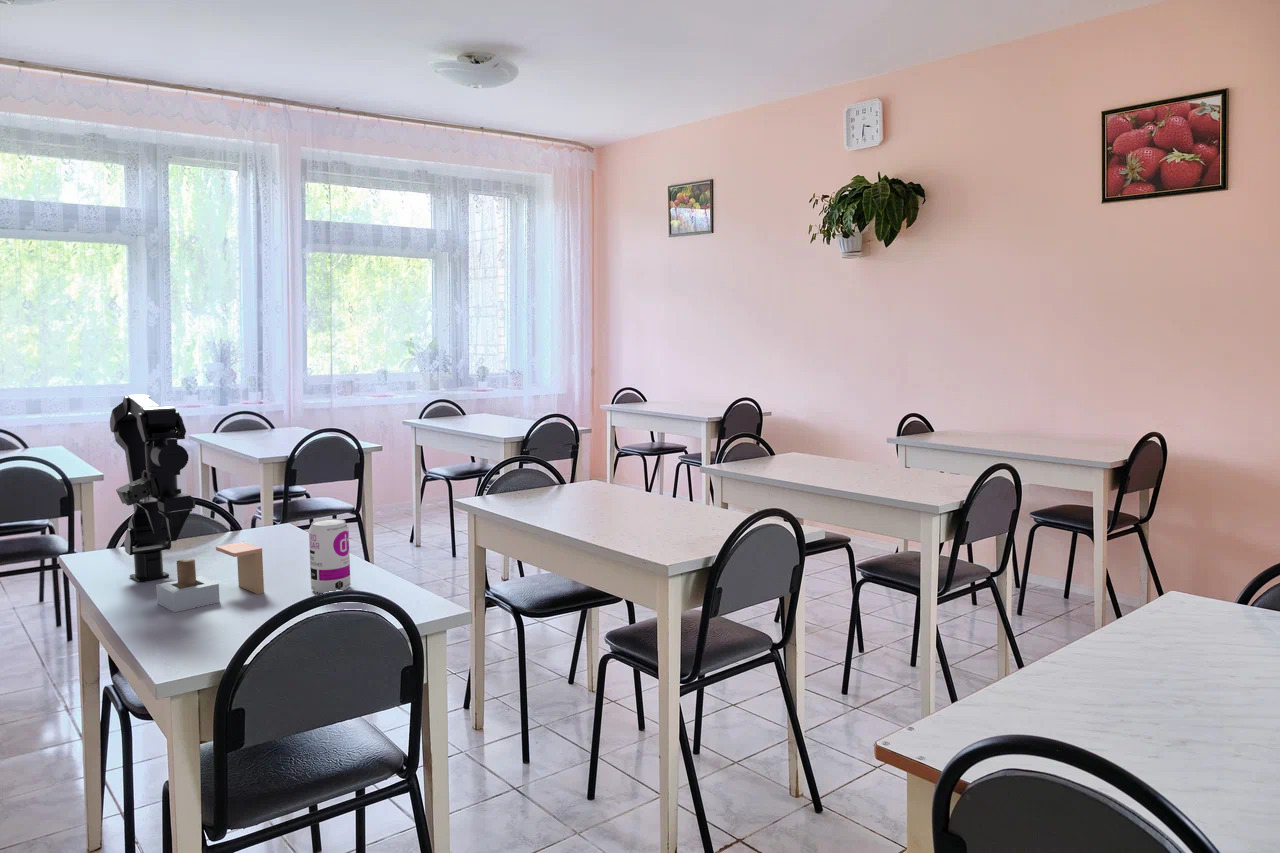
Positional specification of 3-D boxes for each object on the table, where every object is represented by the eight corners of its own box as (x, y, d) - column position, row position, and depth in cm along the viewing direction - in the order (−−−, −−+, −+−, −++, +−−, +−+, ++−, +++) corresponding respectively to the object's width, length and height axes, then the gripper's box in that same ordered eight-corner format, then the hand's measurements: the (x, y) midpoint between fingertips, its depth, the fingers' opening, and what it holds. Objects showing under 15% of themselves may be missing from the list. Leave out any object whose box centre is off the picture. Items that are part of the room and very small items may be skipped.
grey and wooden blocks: (157, 603, 189) (154, 557, 188) (245, 584, 202) (243, 541, 201) (174, 612, 183) (171, 564, 182) (264, 592, 196) (262, 548, 195)
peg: (193, 599, 192) (190, 557, 191) (199, 602, 189) (197, 560, 188) (176, 603, 189) (173, 560, 188) (182, 606, 187) (180, 563, 186)
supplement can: (358, 586, 202) (355, 519, 200) (334, 596, 194) (331, 527, 192) (327, 582, 204) (325, 517, 203) (303, 592, 196) (300, 524, 195)
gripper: (104, 464, 193) (108, 536, 195) (136, 475, 181) (141, 552, 183) (159, 459, 202) (163, 527, 204) (194, 469, 189) (198, 542, 191)
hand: (165, 537), depth 195 cm, fingers open, 9 cm apart
